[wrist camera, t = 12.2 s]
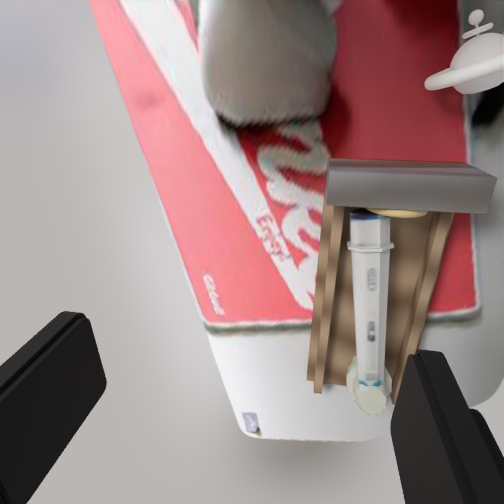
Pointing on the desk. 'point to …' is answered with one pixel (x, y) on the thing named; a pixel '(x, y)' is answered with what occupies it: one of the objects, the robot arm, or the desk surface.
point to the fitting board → (401, 256)
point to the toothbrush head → (369, 309)
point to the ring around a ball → (473, 62)
